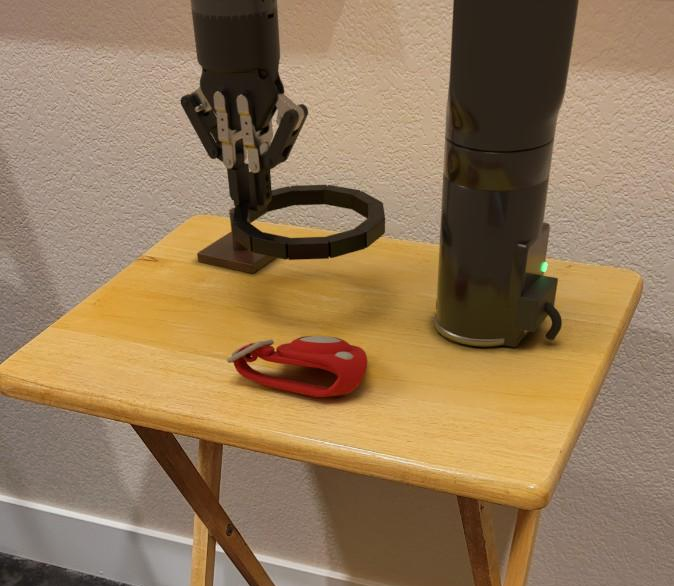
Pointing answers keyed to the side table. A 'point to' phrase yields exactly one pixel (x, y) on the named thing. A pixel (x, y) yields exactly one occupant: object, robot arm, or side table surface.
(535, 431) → the side table surface
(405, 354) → the side table surface
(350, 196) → the ring
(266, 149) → the robot arm
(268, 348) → the tracker holder
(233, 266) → the ring holder
